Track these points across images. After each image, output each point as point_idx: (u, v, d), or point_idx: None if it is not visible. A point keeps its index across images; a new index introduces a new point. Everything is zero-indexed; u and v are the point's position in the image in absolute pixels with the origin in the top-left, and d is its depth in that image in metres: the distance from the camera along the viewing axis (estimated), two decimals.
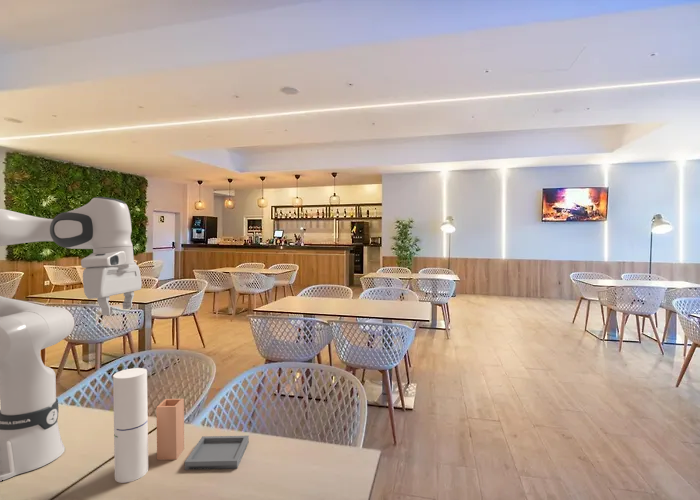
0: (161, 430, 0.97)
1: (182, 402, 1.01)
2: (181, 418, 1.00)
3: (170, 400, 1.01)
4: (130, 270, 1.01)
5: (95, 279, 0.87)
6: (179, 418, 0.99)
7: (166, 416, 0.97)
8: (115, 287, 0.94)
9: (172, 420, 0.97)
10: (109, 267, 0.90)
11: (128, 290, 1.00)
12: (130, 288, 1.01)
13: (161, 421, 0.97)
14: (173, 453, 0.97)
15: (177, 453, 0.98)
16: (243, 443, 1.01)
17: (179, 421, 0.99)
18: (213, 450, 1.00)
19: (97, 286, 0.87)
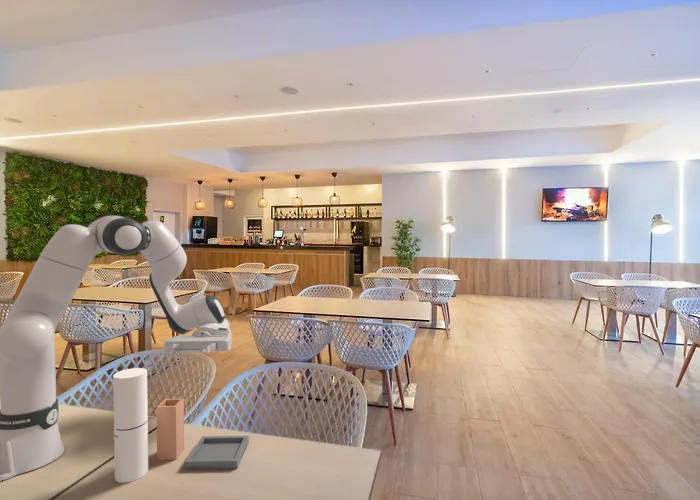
0: (161, 430, 0.97)
1: (182, 402, 1.01)
2: (181, 418, 1.00)
3: (170, 400, 1.01)
4: None
5: (230, 344, 1.21)
6: (179, 418, 0.99)
7: (166, 416, 0.97)
8: None
9: (172, 420, 0.97)
10: None
11: (188, 351, 1.17)
12: None
13: (161, 421, 0.97)
14: (173, 453, 0.97)
15: (177, 453, 0.98)
16: (243, 443, 1.01)
17: (179, 421, 0.99)
18: (213, 450, 1.00)
19: (230, 347, 1.20)
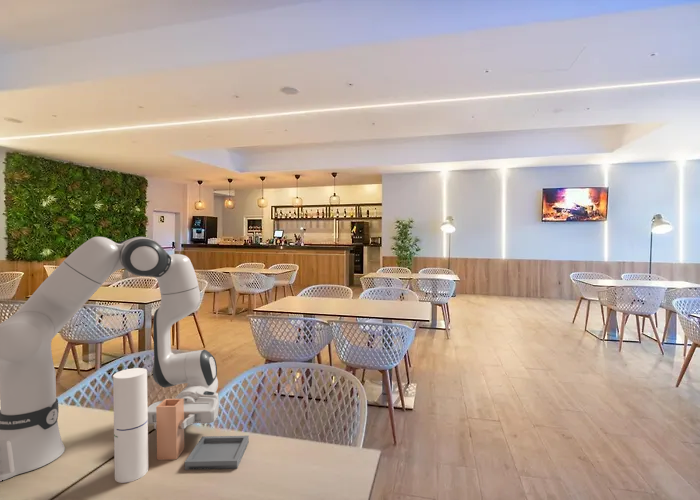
0: (161, 430, 0.97)
1: (182, 402, 1.01)
2: (181, 418, 1.00)
3: (170, 400, 1.01)
4: None
5: (217, 412, 1.08)
6: (179, 418, 0.99)
7: (166, 416, 0.97)
8: None
9: (171, 419, 0.97)
10: None
11: None
12: None
13: (161, 420, 0.97)
14: (173, 453, 0.97)
15: (177, 453, 0.98)
16: (243, 443, 1.01)
17: (179, 421, 0.99)
18: (213, 450, 1.00)
19: (216, 417, 1.06)
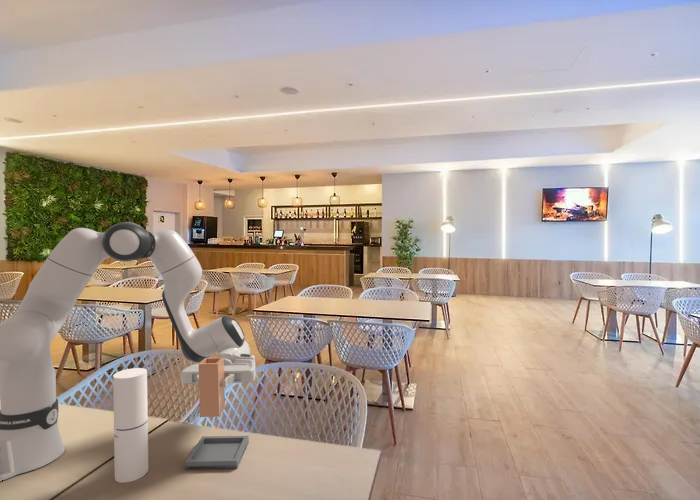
0: (203, 387, 0.96)
1: (222, 361, 1.00)
2: (222, 376, 1.00)
3: (210, 359, 1.01)
4: None
5: (255, 373, 1.07)
6: (220, 376, 0.99)
7: (208, 373, 0.96)
8: None
9: (214, 377, 0.96)
10: None
11: None
12: None
13: (203, 378, 0.96)
14: (216, 410, 0.97)
15: (219, 410, 0.97)
16: (243, 443, 1.01)
17: (220, 379, 0.99)
18: (213, 450, 1.00)
19: None
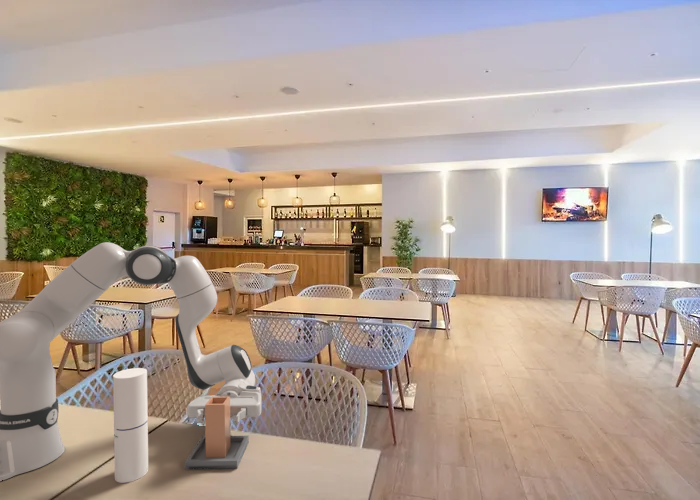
0: (210, 428, 0.96)
1: (229, 400, 1.00)
2: (228, 416, 1.00)
3: (217, 398, 1.01)
4: None
5: None
6: (227, 416, 0.99)
7: (215, 414, 0.96)
8: None
9: (220, 417, 0.96)
10: None
11: None
12: None
13: (209, 418, 0.96)
14: (222, 451, 0.97)
15: (225, 451, 0.97)
16: (243, 443, 1.01)
17: (227, 419, 0.99)
18: None
19: (260, 411, 1.06)
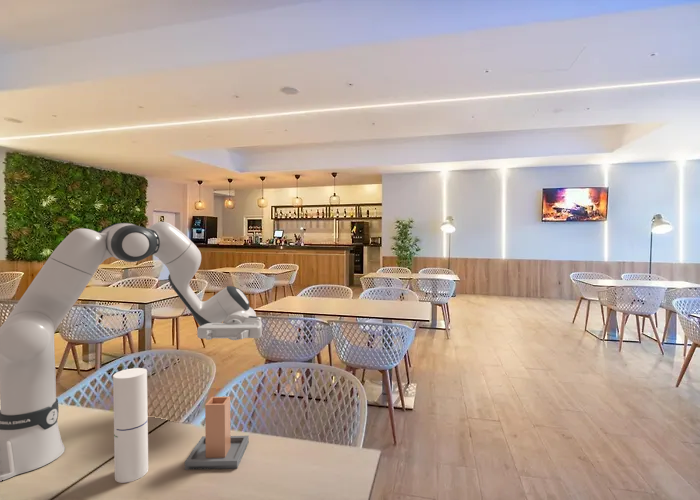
0: (210, 428, 0.96)
1: (229, 400, 1.00)
2: (228, 416, 1.00)
3: (217, 398, 1.01)
4: None
5: None
6: (227, 416, 0.99)
7: (215, 414, 0.96)
8: None
9: (220, 417, 0.96)
10: None
11: None
12: None
13: (209, 418, 0.96)
14: (222, 451, 0.97)
15: (225, 451, 0.97)
16: (243, 443, 1.01)
17: (227, 419, 0.99)
18: None
19: (261, 334, 1.21)
